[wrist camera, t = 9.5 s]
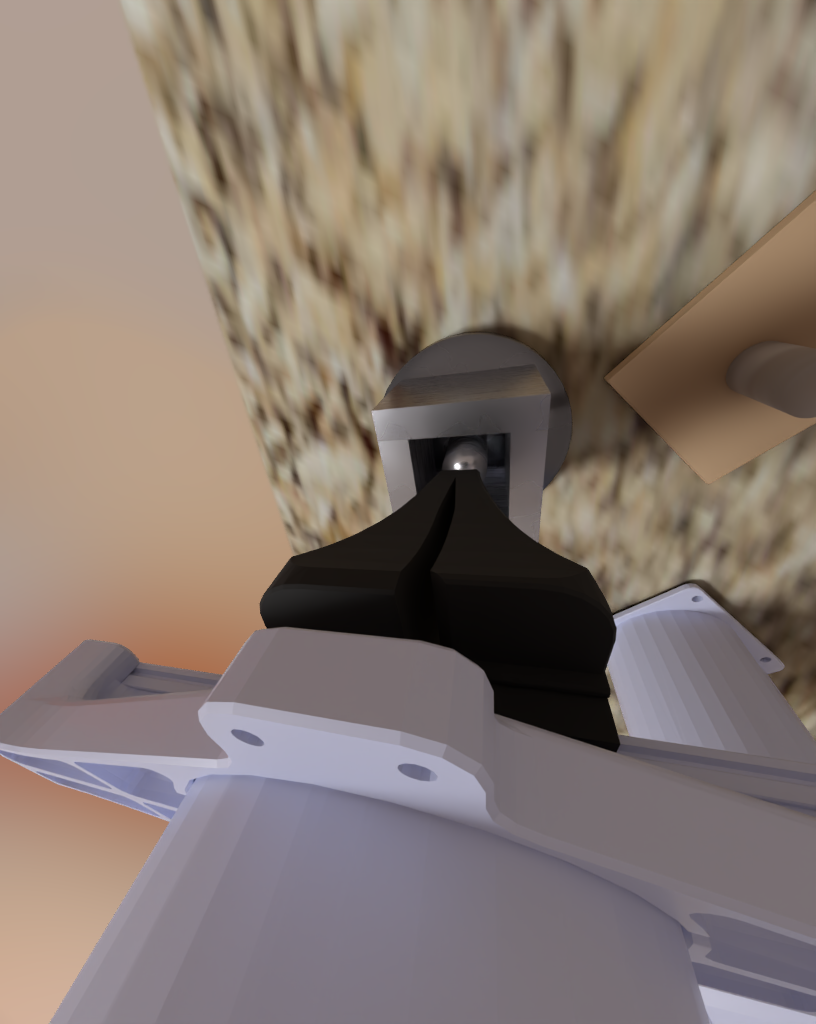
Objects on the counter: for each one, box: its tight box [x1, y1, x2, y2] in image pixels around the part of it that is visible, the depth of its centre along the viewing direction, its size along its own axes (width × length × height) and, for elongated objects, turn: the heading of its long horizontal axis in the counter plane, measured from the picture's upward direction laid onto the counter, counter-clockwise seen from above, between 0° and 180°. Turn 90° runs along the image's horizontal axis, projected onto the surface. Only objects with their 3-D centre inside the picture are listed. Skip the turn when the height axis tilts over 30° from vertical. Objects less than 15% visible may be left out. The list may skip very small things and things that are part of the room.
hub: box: [384, 332, 572, 490], centre depth 15 cm, size 9×9×4 cm
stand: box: [604, 191, 816, 484], centre depth 11 cm, size 7×7×4 cm
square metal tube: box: [372, 364, 551, 542], centre depth 13 cm, size 6×6×4 cm
